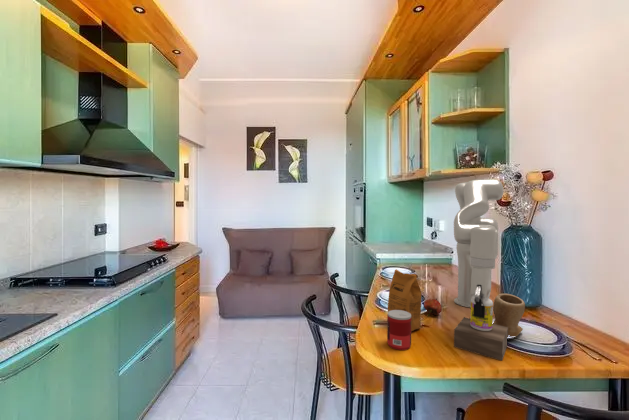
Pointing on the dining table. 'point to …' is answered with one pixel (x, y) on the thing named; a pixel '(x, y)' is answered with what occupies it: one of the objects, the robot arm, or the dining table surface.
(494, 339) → the block
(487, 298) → the supplement bottle
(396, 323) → the canned food
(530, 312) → the dining table surface
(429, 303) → the pomegranate
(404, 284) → the coffee package
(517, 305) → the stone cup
